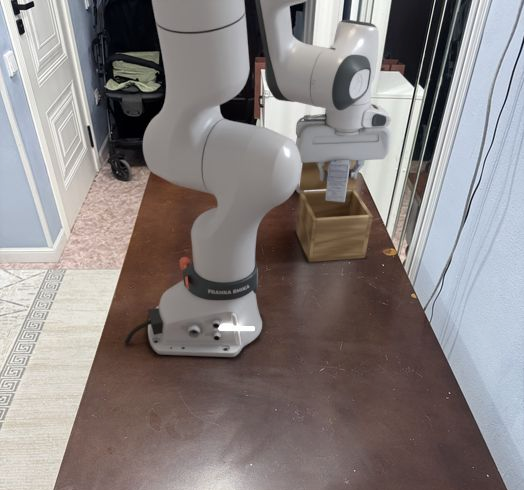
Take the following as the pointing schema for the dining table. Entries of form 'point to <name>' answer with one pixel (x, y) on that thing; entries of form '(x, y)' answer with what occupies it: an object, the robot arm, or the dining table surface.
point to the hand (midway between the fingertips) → (338, 179)
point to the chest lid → (312, 179)
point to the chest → (333, 226)
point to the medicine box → (337, 180)
